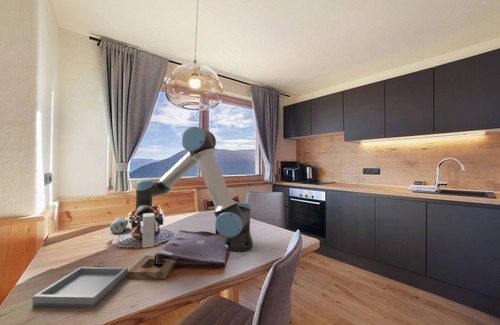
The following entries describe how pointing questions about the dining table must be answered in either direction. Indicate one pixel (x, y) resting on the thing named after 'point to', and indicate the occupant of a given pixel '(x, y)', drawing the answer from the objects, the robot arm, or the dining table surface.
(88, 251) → the dining table surface
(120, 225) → the grey-green mottled ovoid
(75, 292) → the parts tray
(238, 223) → the robot arm
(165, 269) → the socket block
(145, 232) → the skincare box
